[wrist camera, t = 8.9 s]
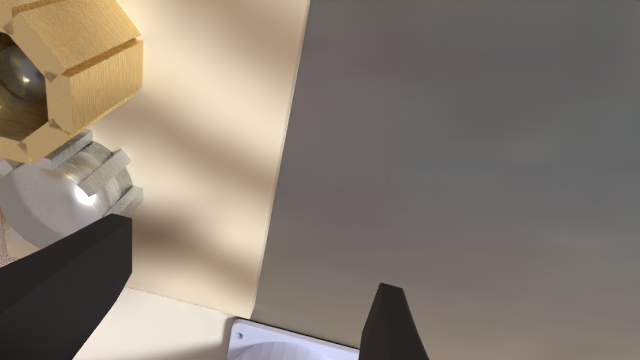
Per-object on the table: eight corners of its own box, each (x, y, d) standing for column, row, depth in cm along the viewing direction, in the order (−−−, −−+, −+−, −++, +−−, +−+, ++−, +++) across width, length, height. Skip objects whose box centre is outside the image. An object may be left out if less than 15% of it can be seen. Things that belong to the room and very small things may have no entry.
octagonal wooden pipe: (141, 123, 21) (75, 176, 17) (23, 92, 21) (-71, 137, 17) (144, -4, 19) (66, 21, 14) (9, -39, 19) (-108, -25, 14)
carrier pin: (116, 71, 21) (53, 106, 18) (73, 60, 21) (1, 93, 18) (115, 26, 20) (49, 53, 17) (71, 15, 20) (-7, 39, 17)
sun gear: (142, 238, 25) (112, 277, 22) (39, 211, 25) (-4, 246, 22) (143, 143, 22) (109, 174, 19) (27, 113, 22) (-23, 140, 19)
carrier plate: (254, 306, 27) (249, 319, 26) (20, 244, 28) (7, 255, 27) (326, -89, 17) (322, -88, 16) (-44, -177, 18) (-67, -181, 17)
